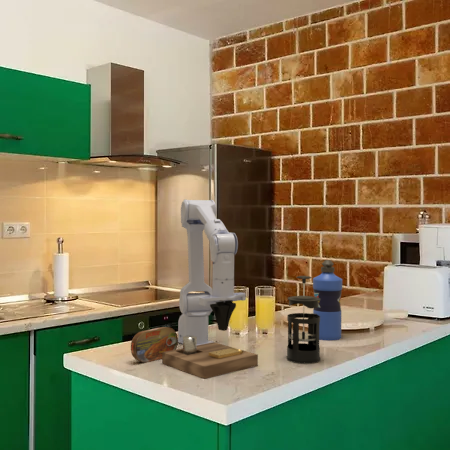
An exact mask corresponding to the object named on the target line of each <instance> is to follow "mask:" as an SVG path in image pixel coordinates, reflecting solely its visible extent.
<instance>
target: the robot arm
mask: <svg viewBox="0 0 450 450" xmlns="http://www.w3.org/2000/svg"><path fill="white" fill-rule="evenodd" d="M180 223H181V227H182V228H183V229H185V230H186V235H187V257H188V258H187V261H188V263H187V264H188V266H187V267H188V282H187V283H186V284H185V285H184V286H182V287H181V288H180V291H179V299H178V302H179V303H178V305H179V310H180V312H181V315H179V318H178V325H177V326H178V329H177V331H178V333H177V337H178V344H179V343H180V344H182V345H183V337H184V336H188V335H192V336H196V337H197V345H202V344H207V343H213V342H214V340H210V339H209V316H210V315H211V313H212V312H213V315H214V317H215V320H216V324H217V329H218V330H219V331H223V332H224V331H227V330H228V328H229V323H230V320H231V316H232V314H233V313H234V311H235V309H236V308H237V303H236V302H237V301H238V302H239V301H246V300H247V299H246V297H247V296H246V292H241V291H239V292H235V256H236V254H237V252H238V248H239V241H238V237H237V235H236V233H235V232H229V230H228V229H227V228H226V226H225V224H224V223H223V221H222V220H221V219H219V218H217V204H216V202H215V200H214V199H209V200H207V199H183V201H182V202H181V206H180ZM204 234H205V235H206V238H207V239H208V242H209V251H210V261H211V262H212V277H211V278H212V279H211V280H212V284H211V285H212V286H210V285H208V284H207V283H206V282H205V263H204V262H205V260H204ZM192 292H193V293H192Z"/></svg>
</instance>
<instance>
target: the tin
mask: <svg viewBox="0 0 450 450" xmlns="http://www.w3.org/2000/svg"><path fill="white" fill-rule="evenodd" d="M130 342H131V343H130V350H131V351H130V352H131V356H132V358H134V359H135V360H136V361H138V362H142V363H143V364H144V363H145V364H146V363H151V362H154V361H159V360H162V352H166V351H171V350H176V349H178V345H179V342H178V333H177V332H176V331H175V329H173V328H172V327H169V326H167V327H165V326H162V327H155V328H152V329H147V330H142V331H138V332H137V333H136V334H135V335H134V336H133V338H132V340H131V341H130Z"/></svg>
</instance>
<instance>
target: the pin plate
mask: <svg viewBox="0 0 450 450" xmlns="http://www.w3.org/2000/svg"><path fill="white" fill-rule="evenodd" d="M231 347H232V346H228V345H227V344H222V343H218V342H215V341H213V343H207V344H202V345H197V353H195V354H190V355H185V354H183V347H182V348H177V349H176V350H171V351H166V352H162V359H161V360H162V361H161V362H162V364H163V365H166V366H168V367H171V368H174V369H177V370H180V371H182V372H185V373H187V374H191V375H193V376H195V377H198V378H201V379H208V378H213V377H218V376H223V375H226V374H229V373H233V372H239V371H242V370H246V369H251V368H254V367H258V365H259V364H258V363H259V361H258V360H259V358H258V357H259V354H257V353H253V352H251V351H246V350H243V353H242V354H239V355H234V356H229V357H224V358H219V359H218V358H215V357H212V356H209V352H214V351H219V350H224V349H230V348H231Z"/></svg>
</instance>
